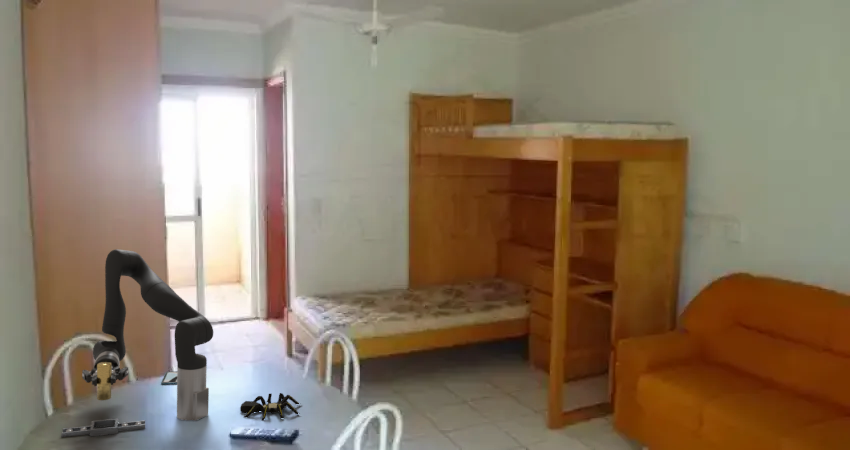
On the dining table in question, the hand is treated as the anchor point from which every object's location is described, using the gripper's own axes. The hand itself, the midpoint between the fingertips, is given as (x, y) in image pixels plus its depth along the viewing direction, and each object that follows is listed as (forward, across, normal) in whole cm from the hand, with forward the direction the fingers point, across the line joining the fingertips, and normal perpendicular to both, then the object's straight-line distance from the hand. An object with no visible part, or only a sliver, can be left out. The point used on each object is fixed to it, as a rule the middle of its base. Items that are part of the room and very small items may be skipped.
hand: (103, 382), depth 205 cm
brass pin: (-3, 0, +6) cm, 7 cm away
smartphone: (-48, +22, +17) cm, 56 cm away
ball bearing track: (-2, 0, +16) cm, 17 cm away
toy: (-5, +53, +17) cm, 55 cm away
